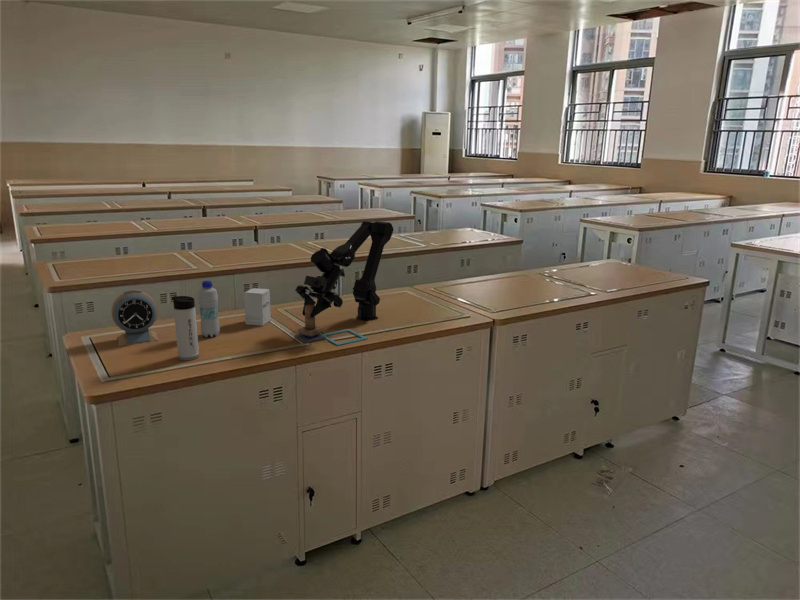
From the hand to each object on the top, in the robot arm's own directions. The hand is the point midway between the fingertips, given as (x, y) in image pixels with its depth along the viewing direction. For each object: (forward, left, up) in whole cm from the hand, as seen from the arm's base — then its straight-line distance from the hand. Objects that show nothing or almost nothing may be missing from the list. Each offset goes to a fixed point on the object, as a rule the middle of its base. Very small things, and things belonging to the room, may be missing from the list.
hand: (307, 316), depth 197 cm
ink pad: (-1, 0, -8) cm, 9 cm away
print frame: (-11, +6, -8) cm, 15 cm away
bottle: (+27, -22, -9) cm, 36 cm away
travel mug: (+40, -5, -9) cm, 41 cm away
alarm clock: (+49, -32, -9) cm, 59 cm away
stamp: (-1, 0, -7) cm, 7 cm away
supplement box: (+7, -27, -9) cm, 30 cm away
